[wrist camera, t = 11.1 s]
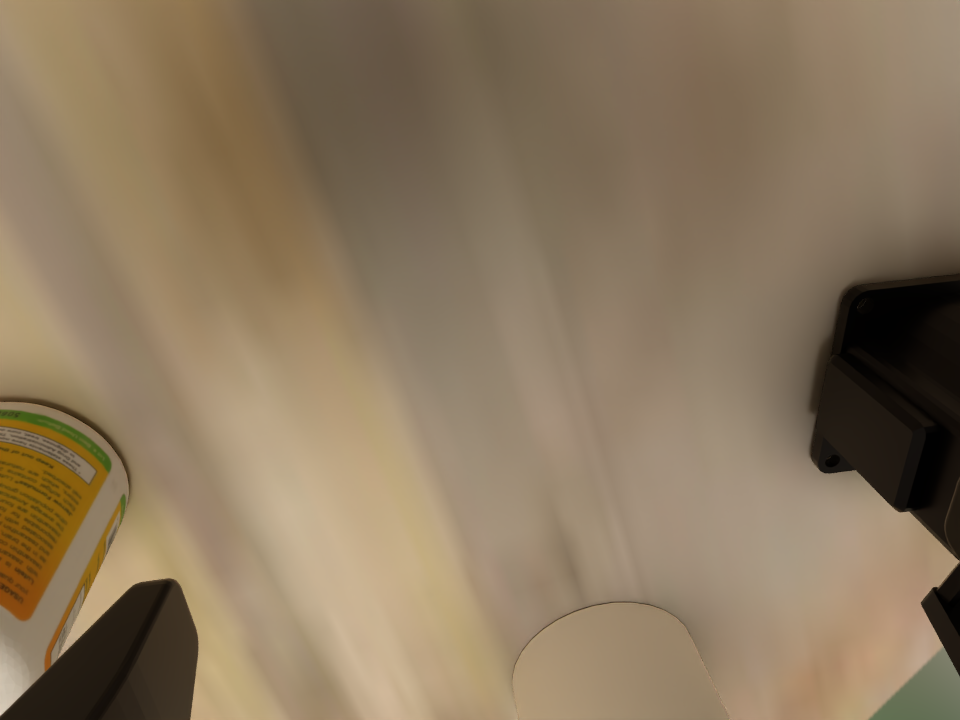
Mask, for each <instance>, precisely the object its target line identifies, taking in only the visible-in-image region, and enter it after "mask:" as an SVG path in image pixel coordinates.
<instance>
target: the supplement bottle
mask: <svg viewBox="0 0 960 720" xmlns="http://www.w3.org/2000/svg"><path fill="white" fill-rule="evenodd" d="M128 497H129V484H128V478H127V474H126V471H125V469H124V466H123V464H122V462H121V460H120V458H119V457H118V455H117V454H116V452H115V451H114V450H113V448H112V447H111V446H110V445H109V443H108V442H107V441H106V440H105V439H104V438H103V437H102V436H101V435H99V434H98V433H97V432H96V431H94V430H93V429H92V428H90V427H89V426H88V425H86V424H85V423H83V422H81V421H79V420H78V419H76V418H74V417H72V416H70V415H68V414H66V413H63V412H61V411H59V410H56V409H53V408H49V407H46V406H42V405H38V404H32V403H24V402H0V716H1V715H2V714H3V713H4V712H5V711H6V710H7V709H8V708H9V707H10V706H11V705H12V704H13V703H14V702H15V701H16V700H17V699H18V698H19V697H20V696H21V695H22V694H23V693H24V692H25V691H26V690H27V689H28V688H29V687H30V686H31V685H32V684H33V683H34V682H35V681H36V680H37V679H38V678H39V677H40V676H41V675H42V674H43V673H44V672H45V671H46V670H47V669H48V668H49V667H50V666H51V665H52V664H53V663H54V662H55V661H56V660H57V658H58V656H59V654H60V651H61V649H62V647H63V645H64V643H65V641H66V639H67V637H68V635H69V632H70V630H71V628H72V626H73V624H74V622H75V620H76V618H77V616H78V614H79V611H80V609H81V607H82V605H83V603H84V601H85V599H86V596H87V594H88V592H89V590H90V588H91V586H92V584H93V582H94V579H95V577H96V575H97V573H98V571H99V569H100V567H101V565H102V563H103V561H104V559H105V556H106V554H107V552H108V550H109V548H110V545H111V544H112V542H113V540H114V537H115V535H116V533H117V531H118V528H119V526H120V524H121V522H122V519H123V516H124V514H125V511H126V508H127V503H128Z"/></svg>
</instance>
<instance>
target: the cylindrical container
mask: <svg viewBox="0 0 960 720" xmlns="http://www.w3.org/2000/svg"><path fill="white" fill-rule="evenodd" d="M512 682H513V692H514V697H515V703H516V708H517V713H518V718H519V720H731V719H730V717H729V715H728V713H727V711H726V709H725V707H724V705H723V703H722V701H721V699H720V697H719V694H718V692H717V690H716V688H715V686H714V684H713V682H712V680H711V678H710V676H709V674H708V671H707V669H706V667H705V665H704V663H703V661H702V659H701V657H700V655H699V653H698V651H697V649H696V646H695V644H694V642H693V640H692V638H691V636H690V634H689V633H688V631H687V629H686V627H685V626H684V625H683V624H682V623H681V622H680V621H679V620H678V619H677V618H676V617H675V616H673V615H671V614H670V613H668V612H667V611H665V610H662V609H659V608H656V607H654V606H651V605H645V604H639V603H609V604H602V605H596V606H592V607H589V608H585V609H582V610H579V611H576V612H573V613H571V614H569V615H567V616H565V617H563V618H561V619H558V620H557V621H555V622H554V623H552V624H551V625H549V626H548V627H546V628H544V629H543V630H542V631H541V632H540V633H539V634H537V635H536V636H535V637H534V638H533V639H532V640H531V641H530V642H529V644H528V645H527V646H526V647H525V649H524V650H523V651H522V652H521V654H520V656H519V658H518V660H517V662H516V664H515V668H514V673H513V677H512Z"/></svg>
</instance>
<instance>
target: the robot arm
mask: <svg viewBox="0 0 960 720" xmlns="http://www.w3.org/2000/svg"><path fill="white" fill-rule="evenodd" d="M863 299H866V301H865V303H864V305H862V306H861V307H860V308H857V307H858V305H859V303H860V302H861V301H862V300H863ZM816 429H817V430H816V435H815V440H814V446H813V451H812V462H813V463H814V464H815V466H816V467H817V468H818V469H819V470H820V471H821V472H823V473H837V472H844V471H852V470H857V472H858V473H859V474H860V475H861V476H862V477H863V478H864V479H865V480H866V481H867V482H868V483H869V484H870V485H871V486H872V487H873V488H874V489H875V490H876V491H877V492H878V493H879V494H880V495H881V496H882V497H883V498H884V499H885V500H886V501H887V502H888V503H889V504H890V505H891V506H892V507H893V508H894V509H895V510H897V511H898V512H907V511H909V512H910V513H911V514H912V515H913V516H914V517H915V518H916V519H917V520H918V521H919V522H920V523H921V524H922V525H923V526H924V527H925V528H926V529H927V530H928V531H929V532H930V533H931V534H932V535H933V536H934V537H935V538H936V539H937V540H938V541H939V542H940V543H941V544H942V545H943V546H944V547H945V548H946V549H947V550H948V551H950V552H951V553H952V554H953V555H954V556H955V557H956V558H957V559H958V560H959V561H960V274H956V275H947V276H938V277H929V278H920V279H911V280H902V281H893V282H884V283H875V284H866V285H859V286H856V287H854V288H852V289H851V290H849V291H848V292H847V293H846V295H845V296H844V297H843V300H842V302H841V307H840V313H839V318H838V323H837V328H836V333H835V338H834V343H833V348H832V353H831V359H830V360H829V362H828V365H827V371H826V376H825V381H824V386H823V391H822V396H821V401H820V407H819V412H818V417H817V422H816ZM831 455H832V456H831ZM829 456H831V457H830V458H829V459H827V458H828V457H829ZM826 459H827V460H826ZM921 605H922V607H923V609H924V611H925V613H926V615H927V616H928V618H929V620H930V622H931V624H932V626H933V628H934V629H935V631H936V633H937V635H938V637H939V639H940V641H941V642H942V644H943V646H944V648H945V650H946V652H947V653H948V655H949V657H950V659H951V661H952V662H953V665H954V667H955V668H956V670H957V672H958V674H959V676H960V562H959V563H958V564H957V565H956V567H955V568H954V569H953V570H952V571H951V573H950V574H949V575H948V576H947V578H946V579H945V580H944V581H943V582H942V584H941V585H940V586H939V587H938V588H937V587H933V588H932V590H931V591H930V592H929V593H928V594H927V596H926V597H925V598H924V599H923V600H922V602H921ZM197 659H198V635H197V630H196V627H195V624H194V622H193V619H192V616H191V613H190V610H189V608H188V605H187V602H186V599H185V597H184V594H183V591H182V588H181V586H180V584H179V583H178V582H177V581H176V580H174V579H170V578H168V579H160V580H153V581H146V582H140V583H137V584H135V585H133V586H132V587H131V588H130V589H128V590H127V591H126V592H125V593H124V594H123V595H122V596H121V597H120V598H119V599H118V600H117V601H116V602H115V603H114V604H113V605H112V606H111V607H110V608H109V609H108V610H107V611H106V612H105V613H104V614H103V615H102V616H101V617H100V618H99V619H98V620H97V621H96V622H95V623H94V624H93V625H92V626H91V627H90V628H89V629H88V630H87V631H86V632H85V633H84V634H83V635H82V636H81V637H80V638H79V639H78V640H77V641H76V642H75V643H74V644H73V645H72V646H71V647H70V648H69V649H68V650H67V651H66V652H65V653H64V654H63V655H62V656H61V657H60V658H59V659H57V660H56V661H55V662H54V663H53V664H52V665H51V666H50V667H49V668H48V669H47V670H46V671H45V672H44V673H43V674H42V675H41V676H40V677H39V678H38V679H37V680H36V681H35V682H34V683H33V684H32V685H31V686H30V687H29V688H28V689H27V690H26V691H25V692H24V693H23V694H22V695H21V696H20V697H19V698H18V699H17V700H16V701H15V702H14V703H13V704H12V705H11V706H10V707H9V708H8V709H7V710H6V711H5V712H4V713H3V714H2V715H1V716H0V720H190V717H191V709H192V701H193V692H194V684H195V676H196V667H197Z"/></svg>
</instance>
